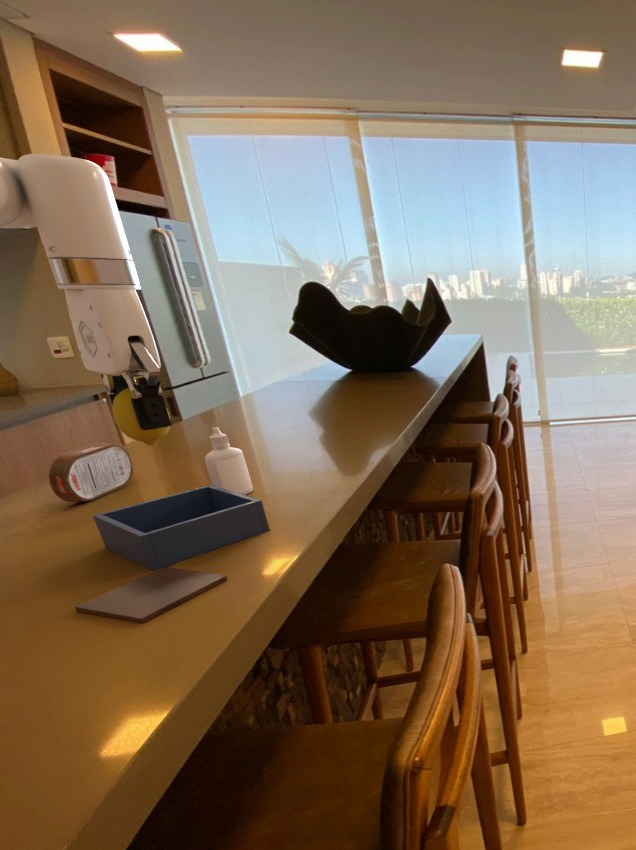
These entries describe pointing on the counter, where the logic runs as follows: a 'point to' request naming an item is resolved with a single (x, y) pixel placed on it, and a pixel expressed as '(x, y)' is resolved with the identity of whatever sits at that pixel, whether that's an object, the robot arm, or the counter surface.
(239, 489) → the eye dropper bottle
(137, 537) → the tote
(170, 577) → the coaster
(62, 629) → the counter surface
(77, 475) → the tin
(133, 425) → the lemon
